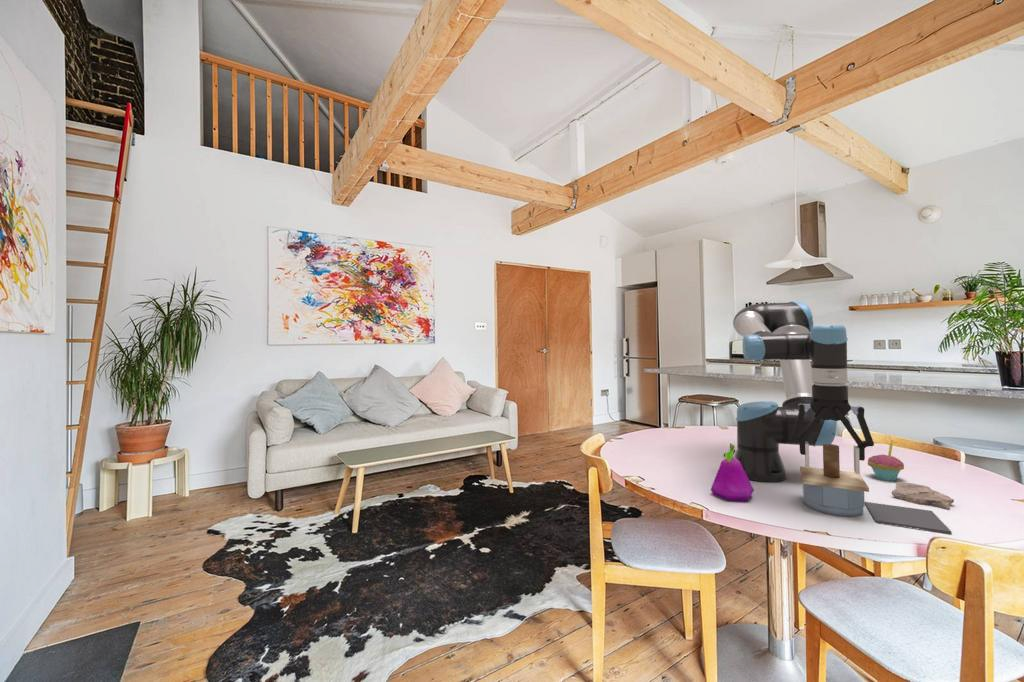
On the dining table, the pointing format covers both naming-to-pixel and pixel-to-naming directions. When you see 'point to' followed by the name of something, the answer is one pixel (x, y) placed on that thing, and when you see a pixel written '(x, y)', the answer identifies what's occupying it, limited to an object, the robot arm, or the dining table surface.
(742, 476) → the purple eggplant
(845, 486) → the board
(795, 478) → the dining table surface
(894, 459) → the cupcake
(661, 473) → the dining table surface
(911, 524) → the mat
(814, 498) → the bowl
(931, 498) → the stone
